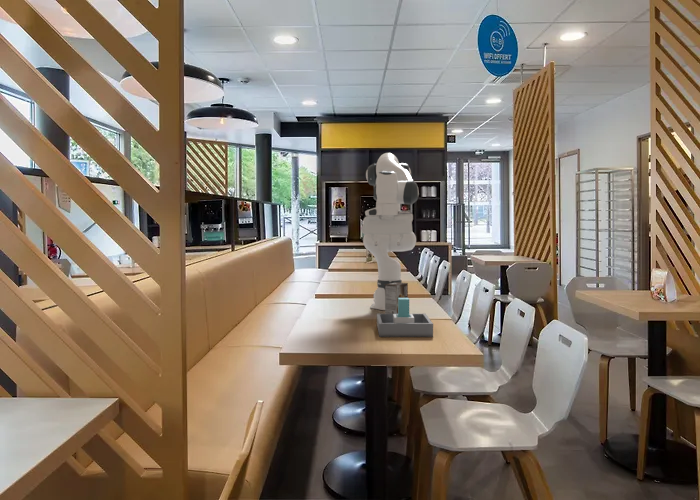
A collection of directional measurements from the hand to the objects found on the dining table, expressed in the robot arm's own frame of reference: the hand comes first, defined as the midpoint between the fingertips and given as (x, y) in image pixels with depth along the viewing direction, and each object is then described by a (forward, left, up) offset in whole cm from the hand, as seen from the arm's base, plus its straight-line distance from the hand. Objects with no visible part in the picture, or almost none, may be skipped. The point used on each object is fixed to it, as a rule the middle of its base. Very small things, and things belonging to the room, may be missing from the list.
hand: (387, 245), depth 199 cm
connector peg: (+8, +6, -32) cm, 34 cm away
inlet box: (+8, +6, -33) cm, 35 cm away
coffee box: (-13, +5, -33) cm, 36 cm away
